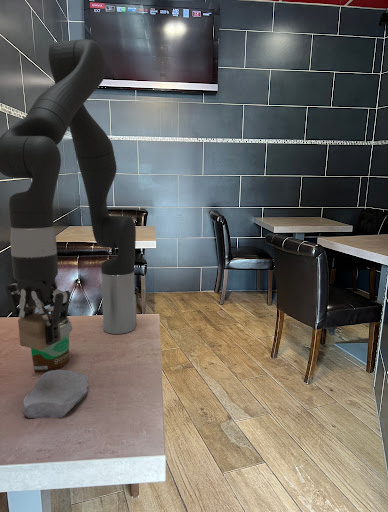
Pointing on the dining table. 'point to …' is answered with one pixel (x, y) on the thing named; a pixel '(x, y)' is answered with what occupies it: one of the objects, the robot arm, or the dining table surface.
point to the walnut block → (34, 331)
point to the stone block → (55, 394)
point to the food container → (53, 352)
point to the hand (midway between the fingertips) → (40, 340)
